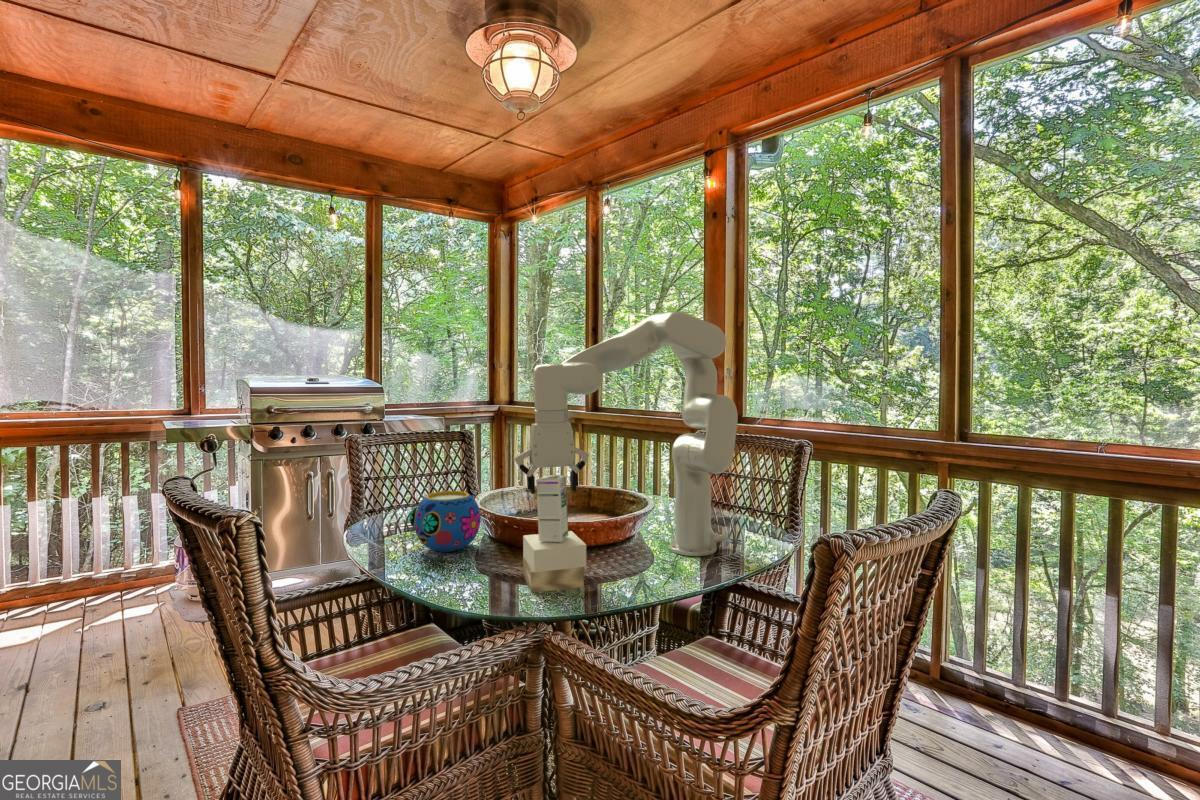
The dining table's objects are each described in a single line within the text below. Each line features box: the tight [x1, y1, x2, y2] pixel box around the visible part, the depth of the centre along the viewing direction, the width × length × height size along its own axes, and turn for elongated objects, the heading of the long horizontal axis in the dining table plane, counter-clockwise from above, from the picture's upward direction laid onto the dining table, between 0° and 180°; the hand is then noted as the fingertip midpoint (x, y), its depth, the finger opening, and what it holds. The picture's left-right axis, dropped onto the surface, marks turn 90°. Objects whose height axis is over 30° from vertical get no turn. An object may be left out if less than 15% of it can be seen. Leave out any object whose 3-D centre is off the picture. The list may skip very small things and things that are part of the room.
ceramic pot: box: [408, 490, 482, 553], centre depth 162 cm, size 18×18×15 cm
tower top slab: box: [522, 530, 587, 573], centre depth 138 cm, size 12×12×5 cm
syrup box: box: [535, 474, 569, 542], centre depth 138 cm, size 6×6×14 cm
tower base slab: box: [522, 556, 585, 594], centre depth 138 cm, size 12×12×5 cm
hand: (553, 491), depth 137 cm, fingers open, 9 cm apart
